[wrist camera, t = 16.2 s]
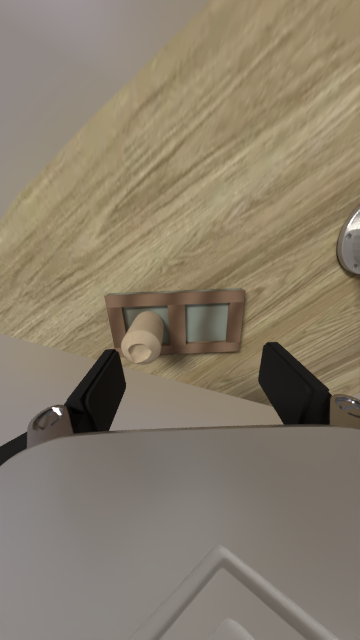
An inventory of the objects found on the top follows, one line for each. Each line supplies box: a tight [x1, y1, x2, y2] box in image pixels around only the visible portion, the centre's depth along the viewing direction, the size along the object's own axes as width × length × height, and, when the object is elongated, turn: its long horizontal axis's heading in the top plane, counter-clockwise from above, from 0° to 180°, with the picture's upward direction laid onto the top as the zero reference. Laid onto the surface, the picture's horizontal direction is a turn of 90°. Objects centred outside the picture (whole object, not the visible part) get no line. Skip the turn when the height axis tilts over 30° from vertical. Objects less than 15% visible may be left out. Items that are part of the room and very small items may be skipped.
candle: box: [121, 311, 164, 365], centre depth 27 cm, size 6×6×10 cm
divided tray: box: [104, 288, 246, 357], centre depth 31 cm, size 24×12×3 cm, turn 92°
